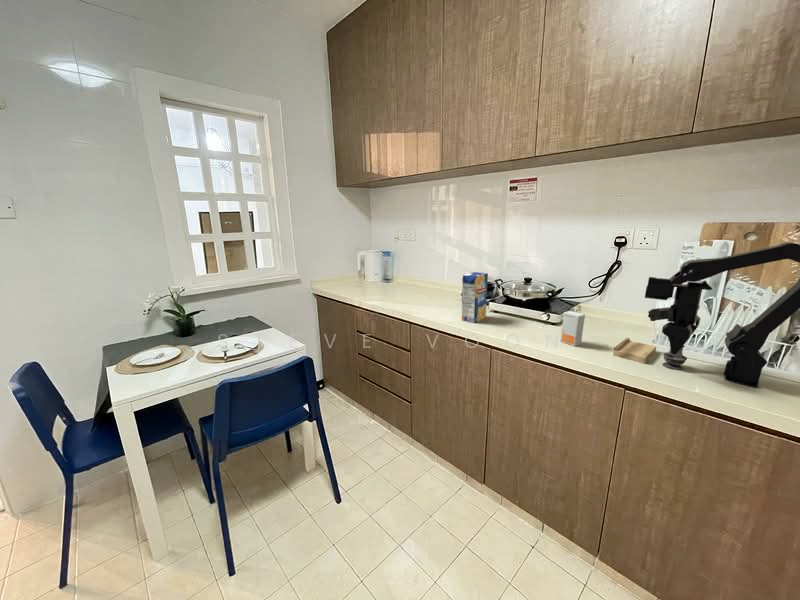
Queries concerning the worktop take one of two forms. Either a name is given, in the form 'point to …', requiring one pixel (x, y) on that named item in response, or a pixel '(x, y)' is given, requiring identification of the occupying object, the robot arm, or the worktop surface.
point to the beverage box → (474, 296)
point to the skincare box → (572, 328)
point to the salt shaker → (674, 360)
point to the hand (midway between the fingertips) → (676, 350)
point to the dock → (634, 351)
